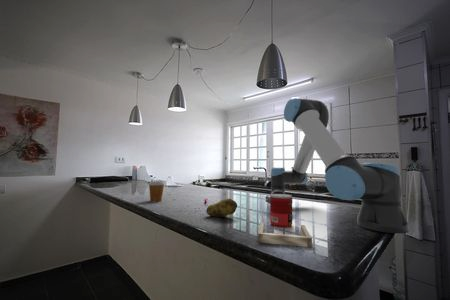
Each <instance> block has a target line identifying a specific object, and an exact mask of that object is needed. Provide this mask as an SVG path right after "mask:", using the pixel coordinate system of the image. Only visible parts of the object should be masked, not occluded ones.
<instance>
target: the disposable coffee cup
mask: <svg viewBox="0 0 450 300" xmlns="http://www.w3.org/2000/svg"><path fill="white" fill-rule="evenodd" d="M148 182H149V183H148V187H149V199H150V200H149V201H150V202H151V201H160V202H162V198H163V193H164V189H165V188H164V186H165V181H164V180H150V181H148Z"/></svg>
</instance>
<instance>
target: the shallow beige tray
mask: <svg viewBox="0 0 450 300" xmlns="http://www.w3.org/2000/svg"><path fill="white" fill-rule="evenodd" d="M259 222H260V224H259V227H258V228H259V229H258V233H257V243H261V244H262V243H263V244H273V245H281V246H283V245H285V246H295V247H304V248H313V237H312V235H311V234H310V232H309V231H308V229H307V227H306V226H305V224H300V234H301V235H294V234H282V233H270V232H265V222H264V221H259Z"/></svg>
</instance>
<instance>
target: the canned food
mask: <svg viewBox="0 0 450 300" xmlns="http://www.w3.org/2000/svg"><path fill="white" fill-rule="evenodd" d="M269 197H270V204H269V208H270V209H269V213H270V214H269V215H270V216H269V219H270V220H269V221H270V225H271V226H273V227H275V228H282V229H286V228H287V229H288V228H291V227H292V226H293V196H292V195H291V194H286V193H285V194H271V193H270V196H269Z"/></svg>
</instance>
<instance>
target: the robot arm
mask: <svg viewBox="0 0 450 300" xmlns="http://www.w3.org/2000/svg"><path fill="white" fill-rule="evenodd" d="M283 117H284V120H285V121H287V122H289V123H292V124H293V125H294V126H295V128H296V129H297V130H301V131H302V132H303V134H304V137H303V140H302V142H301V144H300V147H299V151H298V153H297V156H296V159H295V161H294V163H293V167H292V168H291V170H285V169H286V168H285V167H272V168H271V169H270V170H271V171H270V179H271V181H270V183H271V185H270V195H271V194H286V192H285V191H286V188H285V187H286V185H292V184H293V185H302V184H303V185H304V184H306V183H307V182H308V180H309V179H308V177H309V175H308V173H307V170H308V168H309V165H310V163H311V161H312V158H313V156H314V153H315V152H316V153H317V155H318V157H319V158H320V160H321V161H322V163H323V164H324V165H325V169H324V173H325V176H324V179H325V181H324V185H325V186H326V188H327V190H328V192H329V193H330V194H331V195H332V196H333V197H335V198H337V199H339V200H342V201H343V200H344V201H345V200H347V201H357V200H361V206H360V209H359V211H358V215H357V216H356V217H357V218H356V224H357V226H358V227H362V228H364V229H367V230H371V231H375V232H383V233H387V234H407V233H409V232H410V230H409V228H410V227H409V223H408V221H407V219H406V216H405V214H404V212H403V210H402V202H401V183H400V182H401V181H400V180H401V176H400V171H399V170H400V169H399V168H398V167H397V166H396V165H393V164H389V163H388V164H387V163H381V162H380V163H379V162H364V163H360V161H358V159H357V158H356V157H355V156H353V155H348V154H347V153H346V152H345V150H344V149H343V148H342V147H341V146H342V145H340V143H338V141H337V140H336V139H335V138H334V137H333V135H332V134H331V132H330V131H329V130H328V126H329V125H328V124H329V122H330V121H329V120H330V115H329V108H328V107H327V105H326V104H325V103H324V102H322V100H318V99H317V100H316V99H308V98H302V97H300V96H299V97H296V96H295V97H291V98H290V99H288V100H287V102H286V103H285V106H284V110H283ZM265 202H266V203H268V204H269V205H270V196H268V195H265Z"/></svg>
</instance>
